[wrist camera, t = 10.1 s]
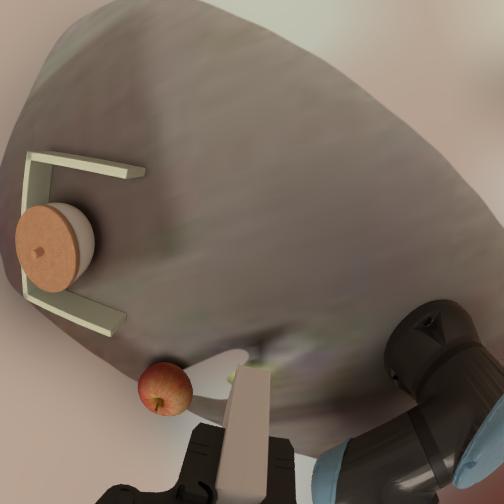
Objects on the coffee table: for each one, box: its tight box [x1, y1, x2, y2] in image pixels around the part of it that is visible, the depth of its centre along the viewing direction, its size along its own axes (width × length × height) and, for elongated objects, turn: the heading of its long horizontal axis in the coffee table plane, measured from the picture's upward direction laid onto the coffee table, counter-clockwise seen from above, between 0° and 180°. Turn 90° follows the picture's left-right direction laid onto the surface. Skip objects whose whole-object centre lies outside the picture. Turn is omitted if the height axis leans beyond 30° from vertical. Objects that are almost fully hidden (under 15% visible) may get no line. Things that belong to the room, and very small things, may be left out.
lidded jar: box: [15, 203, 95, 293], centre depth 31 cm, size 11×11×9 cm
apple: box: [138, 362, 193, 416], centre depth 38 cm, size 8×8×8 cm
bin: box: [21, 151, 146, 337], centre depth 33 cm, size 16×21×5 cm
